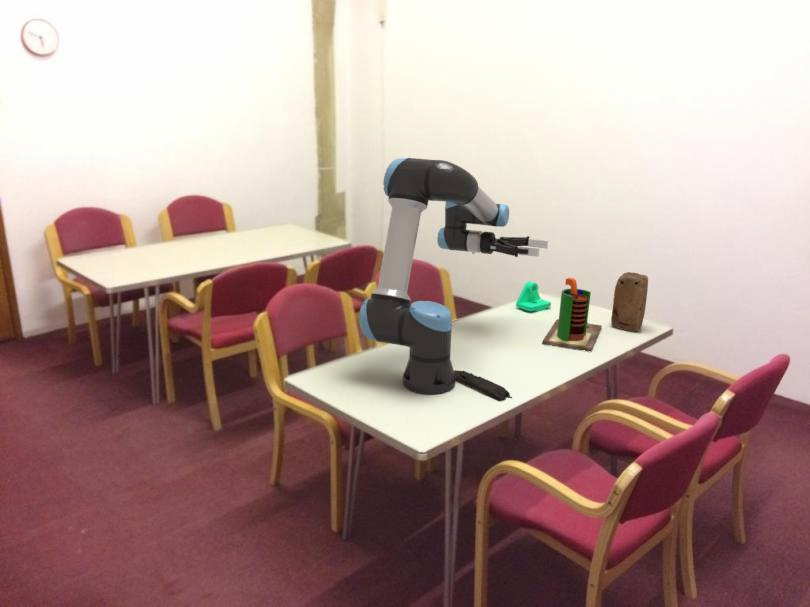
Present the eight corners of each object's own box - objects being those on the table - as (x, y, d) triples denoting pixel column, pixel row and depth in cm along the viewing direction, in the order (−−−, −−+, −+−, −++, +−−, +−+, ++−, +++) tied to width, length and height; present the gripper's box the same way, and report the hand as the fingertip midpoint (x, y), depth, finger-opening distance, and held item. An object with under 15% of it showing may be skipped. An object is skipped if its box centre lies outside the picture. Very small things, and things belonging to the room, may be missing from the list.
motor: (576, 343, 223) (582, 285, 217) (551, 337, 228) (556, 280, 222) (589, 335, 230) (594, 279, 224) (564, 329, 235) (569, 274, 229)
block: (644, 328, 242) (651, 274, 236) (637, 334, 237) (644, 279, 231) (615, 322, 249) (621, 269, 243) (607, 327, 243) (613, 273, 237)
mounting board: (542, 344, 226) (542, 335, 225) (556, 322, 248) (557, 313, 247) (591, 351, 220) (591, 342, 219) (601, 328, 242) (602, 320, 241)
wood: (519, 396, 188) (519, 386, 187) (500, 403, 183) (501, 393, 182) (462, 371, 204) (463, 362, 203) (445, 377, 199) (445, 368, 198)
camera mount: (529, 314, 257) (531, 288, 254) (515, 309, 263) (517, 283, 260) (551, 309, 263) (553, 283, 260) (537, 304, 269) (539, 279, 266)
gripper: (491, 246, 244) (549, 252, 236) (470, 260, 222) (534, 267, 214) (492, 225, 242) (551, 230, 234) (471, 237, 220) (535, 244, 212)
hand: (543, 248), depth 224 cm, fingers open, 13 cm apart
